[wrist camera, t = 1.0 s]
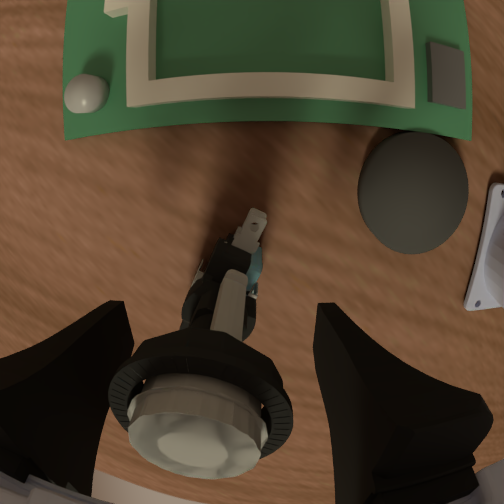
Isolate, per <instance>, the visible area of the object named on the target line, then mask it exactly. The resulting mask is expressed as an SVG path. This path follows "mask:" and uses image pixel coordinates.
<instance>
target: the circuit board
mask: <svg viewBox="0 0 504 504" xmlns="http://www.w3.org/2000/svg"><path fill="white" fill-rule="evenodd" d="M63 116H64V134H65V140H71V139H76V138H81V137H87V136H93V135H99V134H105V133H112V132H118V131H126V130H133V129H141V128H150V127H160V126H170V125H182V124H195V123H212V122H237V121H300V122H325V123H341V124H355V125H366V126H377V127H386V128H395V129H403V130H410V131H417V132H424V133H430V134H436V135H442V136H448V137H454V138H459V139H464V140H469V141H471V134H472V74H471V58H470V46H469V36H468V28H467V20H466V14H465V7H464V2H463V0H68V2H67V11H66V21H65V33H64V50H63Z"/></svg>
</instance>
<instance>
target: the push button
mask: <svg viewBox="0 0 504 504" xmlns="http://www.w3.org/2000/svg"><path fill="white" fill-rule="evenodd" d="M266 217H267V215H266V213H264V212H262V211H260V210H258V209H255V208H251V209H250V211H249V213H248V215H247V217H246V219H245V222H244V224H243V226H242V228H241V227H239V226H238V228H237V230H236V232H235V234H234V235H232V234H230V233H229V235H228V237H227V239H226V240H224V239H222V238H219V239H218V242H217V244H216V246H215V248H214V250H213V253H212V255H211V258H210V260H209V262H208V265H207V267H206V270H205V272H204V273H203V272H201V271H200V269H201V266H202V264H203V261H204V259H202V261H201V264H200V266H199V268H198V270H197V273H196V275H195V277H194V280H193V282H192V285H191V288H190V290H189V292H188V294H187V297H186V299H185V302H184V304H183V307H182V319H183V320H182V323H181V326H180V330H178V331H175V332H171V333H168V334H165V335H161V336H158V337H154V338H151V339H147V340H145V341H143V342H142V343H141V345H140V346H139V347H138V349H137V350H136V352H135V353H134V354H133V356H132V357H130V358H129V359H127V360H126V361H125V362H124V363H123V364H121V366H120V367H119V368H118V369H117V371H116V373H115V375H114V377H113V379H112V381H111V383H110V386H109V391H108V399H109V404H110V407H111V410H112V412H113V414H114V416H115V418H116V419H117V420H118V422H119V423H120V424H121V426H122V427H123V428H124V429H125V430H126V431H127V432H128V433H129V441H130V443H131V445H132V446H133V447H134V448H135V449H136V450H137V451H138V452H139V454H140V455H141V456H142V457H144V458H145V459H147V460H148V461H149V462H151V463H153V464H155V465H157V466H159V467H161V468H162V469H165V470H168V471H171V472H173V473H176V474H181V475H184V476H187V477H196V478H202V479H219V478H227V477H234V476H238V475H240V474H242V473H244V472H246V471H248V470H250V469H252V468H254V467H255V465H256V463H257V461H258V460H259V459H261V458H263V457H265V456H268V455H270V454H271V453H273V452H275V451H276V450H277V449H279V448H280V447H281V446H282V445H283V444H284V443H285V442H286V440H287V439H288V437H289V436H290V434H291V431H292V428H293V410H292V405H291V401H290V399H289V396H288V395H287V393H286V391H285V390H284V389H283V381H282V378H281V376H280V374H279V372H278V371H277V369H276V367H275V365H274V363H273V361H272V360H271V359H270V358H269V357H267V356H265V355H263V354H262V353H260V352H258V351H256V350H255V349H253V348H251V347H250V346H248V345H246V344H245V343H243V341H244V340H245V339H246V338H247V337H248V336H249V335H250V334H251V332H252V331H253V329H254V326H255V322H256V298H257V297H258V295H257V294H258V283H256V282H257V280H258V278H259V276H260V274H261V271H262V267H263V264H262V248H261V247H259V245H260V243H258V242H257V241H258V239H259V238H260V235H261V233H262V231H263V230H264V228H265V226H266V224H267V220H266ZM253 222H256V223H258V224H252V223H253ZM254 284H255V285H254ZM253 285H254V287H253ZM252 287H253V289H252ZM251 289H252V290H251ZM250 291H251V292H250ZM253 292H254V293H253ZM145 379H146V381H145V383H144V384H143V380H145ZM261 403H262V404H263V405H264V407H263V408H262V409H261Z"/></svg>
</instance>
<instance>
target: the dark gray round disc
mask: <svg viewBox="0 0 504 504" xmlns="http://www.w3.org/2000/svg"><path fill="white" fill-rule="evenodd" d="M467 201H468V178H467V173H466V170H465V167H464V164H463V162H462V160H461V158H460V156H459V155H458V153H457V152H456V151H455V150H454V148H453V147H452V146H451V145H450V144H448V143H447V142H446V141H445V140H443V139H441V138H440V137H438V136H435V135H433V134H429V133H424V132H416V131H406V132H400V133H396V134H394V135H392V136H389V137H388V138H386V139H384V140H383V141H382V142H381V143H379V144H378V145H377V146H376V147H375V148H374V149H373V150H372V152H371V153H370V154H369V156H368V157H367V159H366V161H365V163H364V165H363V167H362V170H361V173H360V177H359V181H358V204H359V209H360V212H361V215H362V218H363V220H364V222H365V223H366V225H367V227H368V228H369V229H370V231H371V232H372V233H373V234H374V235H375V236H376V238H377V239H378V240H379V241H380V242H381V243H383V244H384V245H385V246H386V247H388V248H390V249H392V250H394V251H396V252H399V253H404V254H420V253H424V252H427V251H430V250H432V249H434V248H436V247H438V246H439V245H441V244H442V243H444V242H445V241H446V240H447V239H448V238H449V237H450V236H451V235H452V234H453V233H454V231H455V230H456V229H457V227H458V225H459V224H460V222H461V220H462V218H463V215H464V213H465V210H466V206H467Z"/></svg>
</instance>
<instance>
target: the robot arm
mask: <svg viewBox="0 0 504 504" xmlns="http://www.w3.org/2000/svg"><path fill="white" fill-rule="evenodd" d="M502 190H503V194H502V195H501V192H502ZM476 302H477V303H476ZM475 303H476V304H475ZM464 307H465V308H466V310H468V311H473V310H481V309H489V308H496V307H503V308H504V184H502V183H493V184H492V185H491V186H490V189H489V195H488V201H487V208H486V214H485V219H484V225H483V230H482V235H481V240H480V244H479V249H478V253H477V257H476V261H475V265H474V269H473V273H472V277H471V280H470V284H469V287H468V291H467V294H466V297H465V301H464ZM133 347H134V339H133V336H132V332H131V328H130V324H129V321H128V317H127V313H126V308H125V304H124V301H112V300H110V301H108V302H106V303H104V304H102V305H100V306H99V307H97V308H96V309H94V310H92V311H91V312H89V313H88V314H86V315H85V316H83V317H82V318H80V319H79V320H77V321H76V322H74V323H73V324H71V325H69V326H68V327H66V328H64V329H63V330H61V331H59V332H58V333H56V334H54V335H53V336H51V337H49V338H47V339H46V340H44V341H42V342H40V343H38V344H36V345H34V346H32V347H29V348H27V349H25V350H22V351H20V352H17V353H14V354H12V355H9V356H7V357H3V358H0V504H113V503H109V502H106V501H102V500H99V499H96V498H92V497H91V493H92V481H93V473H94V467H95V461H96V455H97V450H98V445H99V441H100V437H101V433H102V429H103V425H104V422H105V418H106V415H107V413H108V410H109V407H110V404H109V399H108V391H109V386H110V383H111V381H112V379H113V377H114V375H115V373H116V371H117V369H118V368H119V367H120V366H121V364H123V363H124V362H125V361H126V360H127V359H129V358H130V357H131V354H132V351H133ZM313 353H314V361H315V369H316V374H317V378H318V382H319V386H320V390H321V394H322V398H323V402H324V405H325V409H326V413H327V417H328V423H329V428H330V436H331V445H332V455H333V466H334V481H335V504H504V459H502V460H500V461H498V462H496V463H494V464H492V465H489V466H487V467H485V468H483V469H481V470H480V471H478V472H477V473H476V474H475V473H474V471H473V468H472V466H474V465H475V463H476V460H475V458H474V456H473V452H474V451H475V450H476V448H477V447H478V446H479V445H480V443H481V442H482V441H483V439H484V438H485V437H486V436H487V434H488V432H489V431H490V429H491V427H492V423H493V415H492V413H491V411H490V410H489V408H488V406H487V405H486V403H485V401H484V400H483V398H482V396H481V395H480V394H478V393H474V392H471V391H468V390H464V389H461V388H458V387H455V386H452V385H449V384H447V383H444V382H442V381H440V380H437V379H435V378H433V377H431V376H428V375H426V374H424V373H423V372H421V371H419V370H417V369H415V368H413V367H411V366H410V365H408V364H406V363H405V362H403V361H402V360H400V359H399V358H397V357H396V356H394V355H393V354H391V353H390V352H388V351H387V350H386V349H384V348H383V347H382V346H380V345H379V344H378V343H377V342H376V341H374V340H373V339H372V338H371V337H370V336H368V335H367V334H366V333H365V332H364V331H363V330H362V329H361V328H360V327H359V326H357V325H356V324H355V323H354V322H353V321H352V320H351V319H350V318H349V317H348V316H347V315H346V314H345V313H344V312H343V311H342V310H341V309H340V308H339V307H338V306H337V305H336V304H335V303H318V306H317V315H316V324H315V333H314V342H313Z"/></svg>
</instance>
